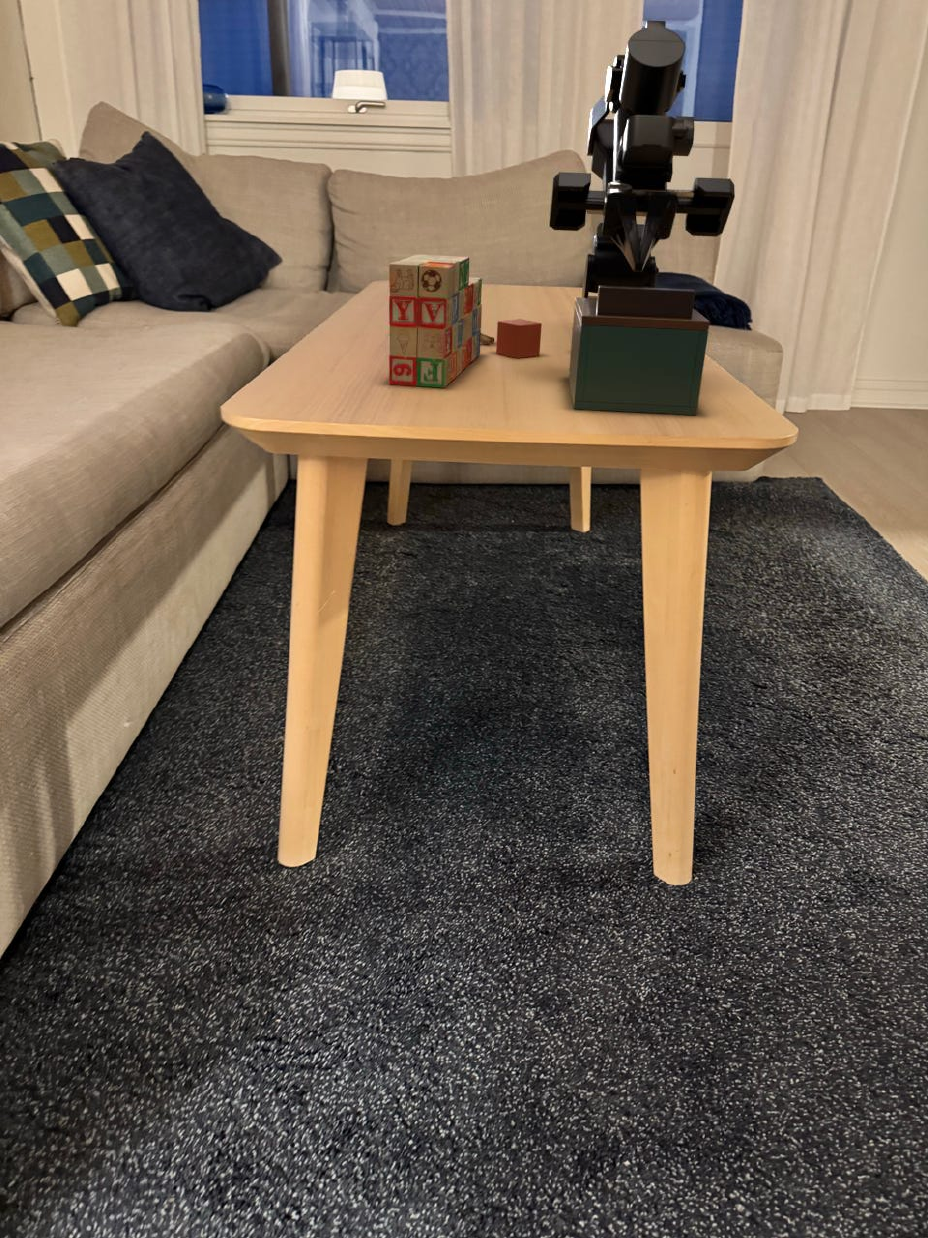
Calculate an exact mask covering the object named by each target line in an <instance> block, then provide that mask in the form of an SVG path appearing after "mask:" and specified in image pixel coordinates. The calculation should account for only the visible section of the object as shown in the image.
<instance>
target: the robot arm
mask: <svg viewBox="0 0 928 1238" xmlns="http://www.w3.org/2000/svg"><path fill="white" fill-rule="evenodd" d="M645 22H646V23H645V27H644V28H641V29H638V30H637V31H635V32H634V33H633V34H632V35H631V36H630V38H629V39H628V41H627V45H626V52H625V54H617V55H616V56H615V58H614V61H613V65H609V66H608V68H607V73H606V80H605V81H606V82H605V92H604V94H603V95H602V96H601V97H600V98H599V99H598V101H596V103H595V104H594V106H592V108H591V110H590V117H589V125H588V130H587V132H588V133H587V140H586V141H587V143H586V157H590V171H591V172H592V173H593V174H594V175H596V177H598V178H599V179H601V181H602V190H591V189H590V187H591V184H592V173H588V172H566V171H565V172H563V171H559V172H557V173H556V174H555V176H553V178H552V184H551V185H552V186H551V197H550V208H549V228H551V229H552V230H553V231H565V232H567V231H568V232H579V231H580V230H582V229H583V228H584V227H585V226H586V218H587V217H586V216H587V214H588V215H602V220H601V221H602V222H599V224H598V225H597V226H596V233H595V235H594V236H593V241H592V242H593V243H592V250H591V253H587V254H586V259H585V266H584V273H583V280H582V285H581V287H582V289H581V298H598V295H590V294H589V293H591V294H598V287H599V286H622V287H645V288H657V282H658V279H659V274H660V269H659V267H658V266H657V262H656V256H654V255H652V251H653V249H654V248H655V247H656V246H657V244H658V243H659V242H660V241H661V240H663V241H664V240H668V239H669V238H670V236H671V233H672V229H673V225H674V221H675V217H676V214H679V215H681V214H684V215H685V221H684V228H685V229H684V230H685V231H686V232H687V233H689V235H691V236H692V237H718V236H720V235H722V234H723V233H724V231H725V227H726V225H727V221H728V218H729V215H730V213H731V210H732V206H733V203H734V200H735V198H736V195H735V194H736V193H735V183H734V182H733V180H732V179H731V178H726V177H725V178H724V177H695V178H694V182H693V186H692V188H691V189H672V188H671V189H668V183H671V181H672V178H673V173H674V170H673V169H674V168H673V167H674V166H673V165H674V163H673V161H674V157H689V156H690V154H691V151H692V149H693V146H694V140H695V117H694V116H684V115H683V116H679V115H677V116H675V117H674V116H670V115H667V114H668V112H670V110H671V109H672V108H673V105H674V103H675V102H676V100H677V97H678V96H679V94H680V93H681V92H682V91H683V90H684V89H685V88H686V81H687V74H684V70H683V69H682V66H683V61H684V56H685V52H686V42H685V41H684V40H683V38H682V37H681V36H680V35H679V34H678V33H677V32H676V31H674V30H672V29H670V28H667V27H666V25H667V23H666V20H649V19H648V20H647V19H646V21H645ZM610 113H611V114H612V115H613V114H614V118H607V117H608V116H609V114H610ZM637 217H645V220H644V224H642V223H641V224H640V223H638V220H637Z"/></svg>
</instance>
